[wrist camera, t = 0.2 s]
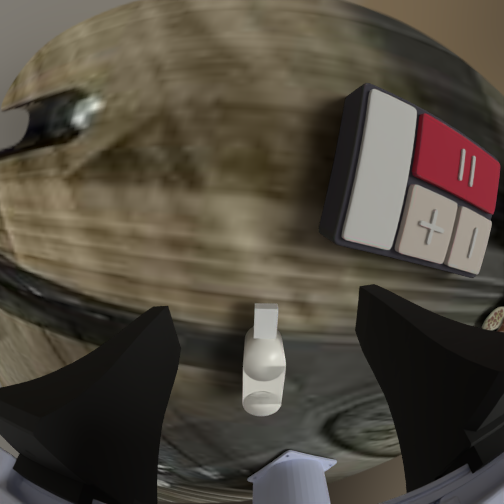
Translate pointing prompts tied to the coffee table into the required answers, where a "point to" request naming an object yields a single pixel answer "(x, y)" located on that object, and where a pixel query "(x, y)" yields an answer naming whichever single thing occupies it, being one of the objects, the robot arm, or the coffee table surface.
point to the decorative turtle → (495, 320)
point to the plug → (263, 363)
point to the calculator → (409, 185)
